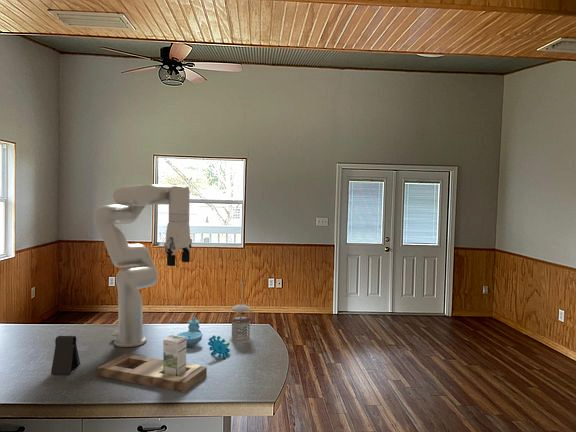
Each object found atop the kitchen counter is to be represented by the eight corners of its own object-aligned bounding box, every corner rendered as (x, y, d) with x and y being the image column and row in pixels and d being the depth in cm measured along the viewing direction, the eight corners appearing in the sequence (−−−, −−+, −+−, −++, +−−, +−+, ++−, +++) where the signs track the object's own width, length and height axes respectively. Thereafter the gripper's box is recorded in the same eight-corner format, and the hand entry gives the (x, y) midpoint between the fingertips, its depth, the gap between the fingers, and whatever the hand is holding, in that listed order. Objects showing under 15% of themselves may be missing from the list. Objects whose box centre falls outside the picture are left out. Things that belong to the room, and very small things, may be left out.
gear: (217, 358, 168) (205, 335, 172) (208, 367, 170) (197, 344, 174) (236, 354, 177) (225, 332, 181) (227, 362, 179) (217, 341, 183)
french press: (224, 339, 195) (225, 281, 194) (246, 333, 203) (247, 278, 202) (237, 345, 188) (238, 285, 187) (259, 339, 196) (260, 282, 194)
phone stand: (64, 364, 163) (63, 332, 162) (80, 365, 163) (80, 332, 162) (50, 374, 154) (50, 340, 153) (68, 375, 154) (67, 340, 153)
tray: (98, 375, 154) (98, 366, 154) (125, 361, 167) (125, 352, 167) (184, 392, 143) (184, 382, 143) (206, 375, 156) (206, 366, 156)
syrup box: (186, 377, 154) (187, 336, 153) (177, 384, 148) (177, 341, 148) (172, 375, 156) (172, 333, 155) (162, 381, 150) (162, 339, 149)
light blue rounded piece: (200, 350, 181) (200, 328, 181) (173, 349, 181) (174, 327, 180) (207, 336, 199) (207, 315, 199) (183, 335, 199) (183, 315, 198)
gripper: (182, 217, 178) (182, 260, 179) (156, 219, 162) (156, 266, 163) (199, 217, 176) (199, 261, 176) (174, 220, 159) (174, 268, 160)
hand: (178, 263), depth 169 cm, fingers open, 9 cm apart
